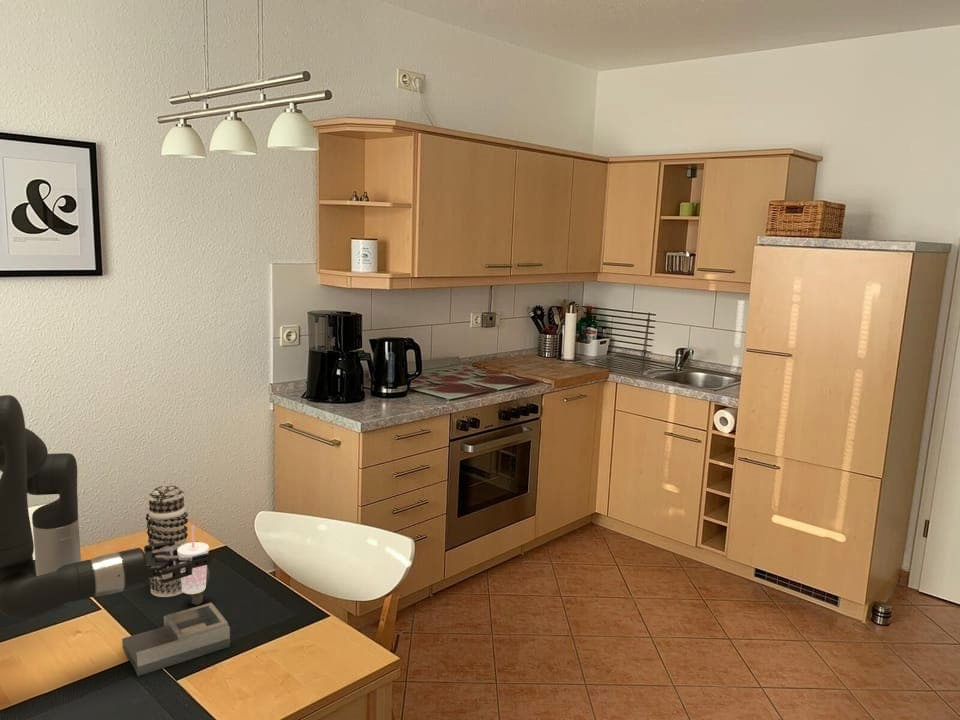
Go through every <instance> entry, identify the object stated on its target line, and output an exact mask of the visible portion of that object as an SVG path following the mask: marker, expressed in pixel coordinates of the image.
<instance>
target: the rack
mask: <svg viewBox="0 0 960 720" xmlns="http://www.w3.org/2000/svg"><path fill="white" fill-rule="evenodd" d="M121 641H122V643H121V645H122V649H123V650H124V653H125V654H126V657H127V656H128V657H127V658H128V661H129V662H130V664H131V666H132V668H133V669H134V671H135V673H136V675H137V677H140V676H143V675H146V674H150V673H153V672H156V671H158V670H163V669H165V668H168V667H171V666H174V665H177V664H181V663H184V662H186V661H187V662H188V661H190V660H193V659H195V658H199V657H202V656H205V655H208V654H212V653H215V652H218V651H221V650H225V649H227V648H231V628H230V626H229V622H228V621H227V620H226V619H225V617H224V615H222V614H221V612H220V611H219V610H218V609H217V607H216V606H215V605H214V604H213V603H212V602H209V603H205V604H202V605H196V606H195V607H194V606H193V607H191V608H190V607H189V608H188V609H183V610H181V611H175V612H173V613H169V614H166V615H163V626H161V627H158V628H154V629H150V630H147V631H143V632H140V633H137V634H133V635H131V636H126V637H123V638H122V639H121Z"/></svg>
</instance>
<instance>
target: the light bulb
mask: <svg viewBox="0 0 960 720" xmlns="http://www.w3.org/2000/svg"><path fill="white" fill-rule="evenodd" d="M209 580H210V569H209V568H208V567H207V574H206V585H207V584H208V582H209ZM204 592H205V590H204V591H202V592H200V593H197V594H190V596H191V604H193V605H195V606H200V604H201V603H203V601H204V598H203V597H204V595H203V594H204Z"/></svg>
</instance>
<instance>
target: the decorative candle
mask: <svg viewBox="0 0 960 720" xmlns="http://www.w3.org/2000/svg"><path fill="white" fill-rule="evenodd" d="M184 497H185V492H184V491H183V490H182V489H181V488H179V487H178V486H176V485H162V486H158V487H156V488H154V489H153V490H152V491H151V492H150V493H148V495H147V499H148V505H149V506H148V513H146V515H145V520H146V528H147V531H146V534H147V536H148V538H147V539H148V540H147V543H148V545H152V544H158V543H164V542H171V541H174V542H175V544H181V545H183V544H186V543H187V542H188V538H187V537H188V535H189V534H188V533H187V532H188V526H186V524H187V523H188V522H189V519H188V518H187V517H188V515H189V513H188V512H187V511H186V509H185V508H186V506H185V504H184V503H185V502H184V501H185V500H184V499H185V498H184ZM174 565H175V561H174ZM149 581H150V582H149V586H150V594H152V595H153V596H155V597H159V598H170V597H175V596H178V595H181V594H184V592H183V591H182V584H181V578H179V579H176V580H173V581H170V582H166V583H162V582H161V577H160V576H159V577H150V578H149Z"/></svg>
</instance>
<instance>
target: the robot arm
mask: <svg viewBox="0 0 960 720" xmlns="http://www.w3.org/2000/svg"><path fill="white" fill-rule="evenodd" d="M23 411H24V410H23V408H22V406H21V403H20V402H19V400H18V399H17V398H16V397H15V396H14V395H10V394H6V395H0V472H2V473H1V475H0V476H1V477H0V612H1V614H2V615H4V616H5V617H7V618H11V619H24V618H25V619H26V618H30V617H33V616H37V615H40V614H43V613H45V612H49V611H50V610H51V611H52V610H53V609H56V608H59V607H61V606H63V605H65V604H68V603H73V602H78V601H82V600H85V599H89V598H93V597H94V598H95V597H100V596H108V595H112V594H115V593H116V594H117V593H121V592H124V591H129V590H133V589H137V588H140V587H145V586H146V585H147V583H148V580H150V577H159V576H160V577H161V582H162V583H166V582H170V581H173V580H176V579H179V578H183V577H186V576H189V575H192V570H193V568H196V567H200V566H205V565H207V566H209V565H211V563H212V555H211V554H210V553H209V552H208V553H206V554H202V555H197V556H193V557H192V558H191V557H185V558H181V557H180V556H178V554H177V553H178V552H177V549H178V547H180V546H181V544H175V542H174V541H171V542H164V543H158V544H152V545H149V544H148V545H147V544H146V545H144V547H143V548H141V547H135V548H131V549H127V550H125V549H124V550H121V551H117V552H113V553H112V552H111V553H107V554H104V555H99V556H97V557H94V558H90V559H86V560H82V558H81V557H82V555H81V553H82V552H81V540H80V523H79V502H78V500H79V499H78V463H77V460H76V457H75V456H74V454H72V453H67V452H66V453H65V452H64V453H63V452H62V453H60V452H59V453H48V447H47V445H46V443H45V441H43V439H42V438H41V437H40V436H38V435H37V434H36V433H35V432H33V430H30V429H28V428H26V423H25V422H26V421H25V415H24V412H23ZM28 495H31V496H45V495H46V496H47V495H59V498H58V499H56V500H54V501H51V502H49V503H46V504H44V505H42V506H39V507H38V508H36V509H35V510H34V511H33V512H32V514H31V515H32V516H31V520H30V513H29V505H28ZM31 523H32V526H31ZM196 542H200V541H198V540H197V541H196ZM183 545H184V544H183ZM33 555H34V556H33ZM174 561H175V565H174ZM180 562H185V563H181V564H180ZM182 571H186V572H182ZM181 572H182V573H181Z"/></svg>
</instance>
